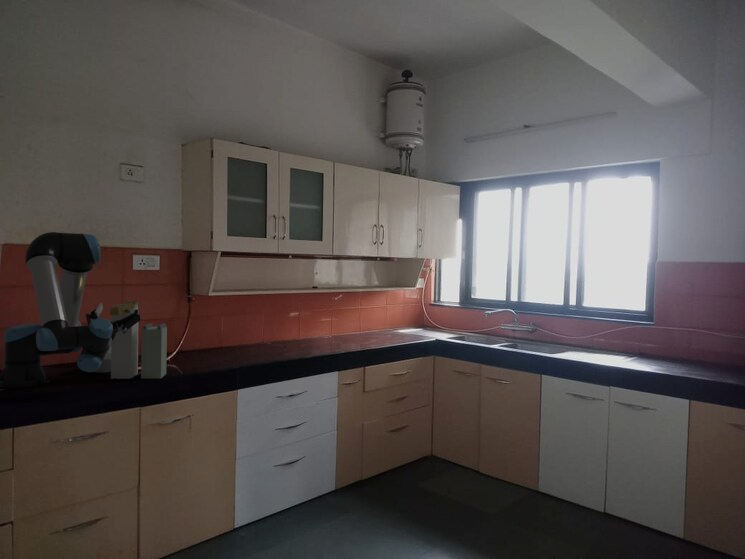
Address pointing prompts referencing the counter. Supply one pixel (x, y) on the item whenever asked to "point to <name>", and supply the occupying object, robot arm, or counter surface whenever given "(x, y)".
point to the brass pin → (122, 308)
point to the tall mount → (124, 351)
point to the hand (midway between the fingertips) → (119, 305)
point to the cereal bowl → (105, 364)
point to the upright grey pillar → (153, 351)
